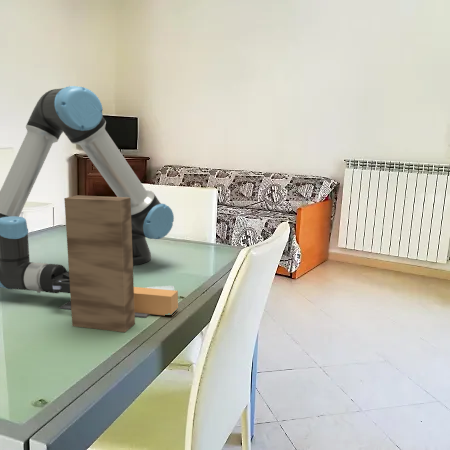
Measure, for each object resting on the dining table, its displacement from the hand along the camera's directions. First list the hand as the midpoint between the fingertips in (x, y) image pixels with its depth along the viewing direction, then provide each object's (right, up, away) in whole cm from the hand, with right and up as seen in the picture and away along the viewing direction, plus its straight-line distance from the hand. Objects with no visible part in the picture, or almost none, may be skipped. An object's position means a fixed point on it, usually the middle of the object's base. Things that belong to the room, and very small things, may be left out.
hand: (126, 285), depth 118 cm
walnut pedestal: (-4, -8, -9) cm, 12 cm away
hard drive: (+7, -5, +11) cm, 14 cm away
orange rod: (+2, -6, +1) cm, 6 cm away
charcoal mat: (-5, -6, +2) cm, 8 cm away
